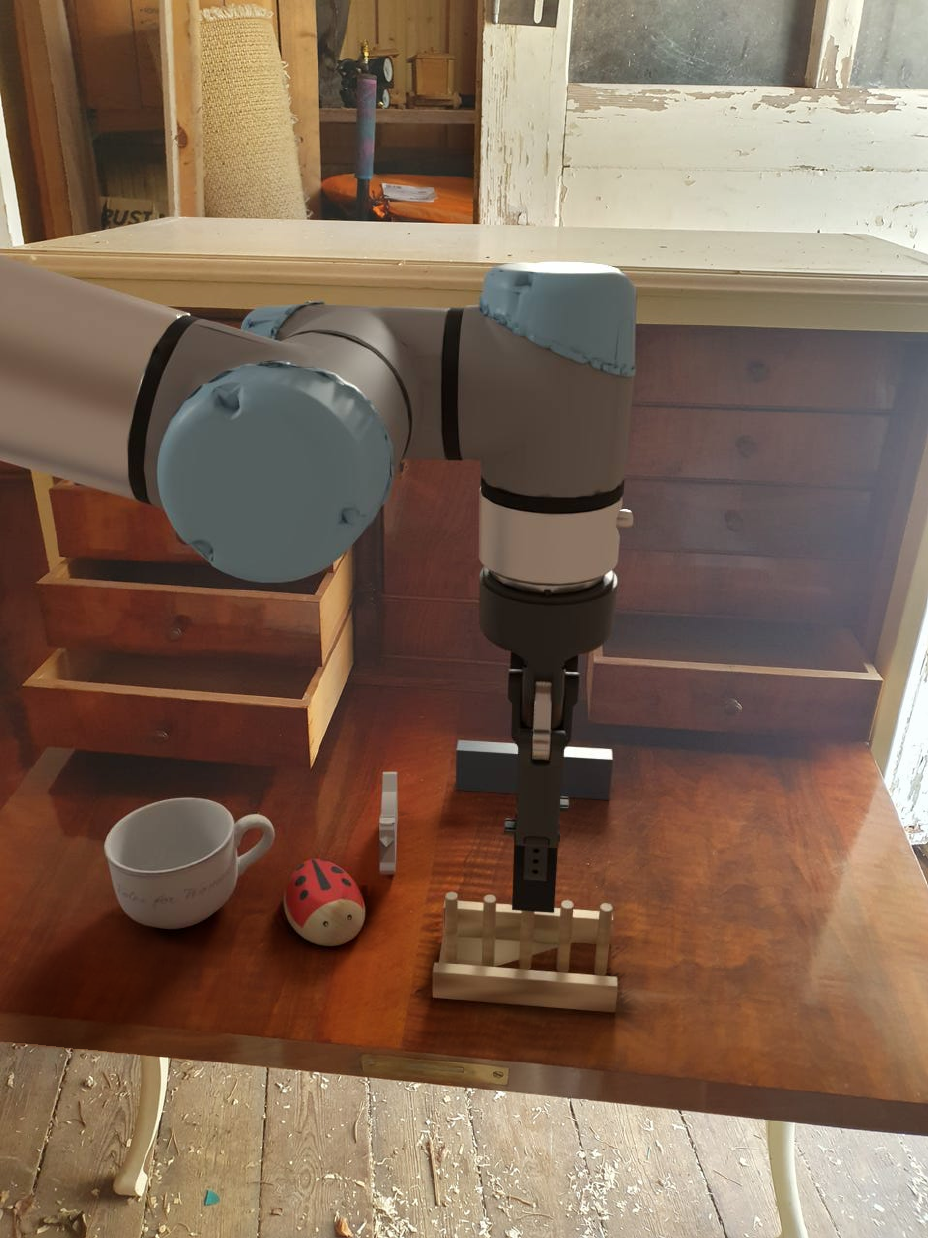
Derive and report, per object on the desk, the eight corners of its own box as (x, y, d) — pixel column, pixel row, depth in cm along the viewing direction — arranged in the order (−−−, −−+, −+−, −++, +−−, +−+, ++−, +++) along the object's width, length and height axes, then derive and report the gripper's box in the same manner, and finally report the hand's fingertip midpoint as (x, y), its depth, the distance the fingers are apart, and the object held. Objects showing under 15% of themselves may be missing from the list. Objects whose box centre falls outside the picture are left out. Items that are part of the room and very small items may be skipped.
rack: (432, 1010, 75) (432, 932, 72) (444, 935, 82) (444, 861, 79) (613, 1025, 74) (622, 946, 70) (609, 948, 81) (616, 873, 78)
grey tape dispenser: (397, 818, 97) (394, 885, 88) (384, 819, 97) (379, 885, 88) (397, 770, 94) (393, 834, 85) (382, 770, 94) (378, 834, 85)
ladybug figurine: (307, 962, 79) (304, 929, 78) (269, 889, 87) (266, 858, 85) (381, 935, 82) (380, 903, 81) (339, 867, 90) (337, 836, 88)
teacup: (107, 954, 80) (92, 878, 76) (127, 868, 89) (115, 797, 86) (277, 936, 82) (271, 862, 78) (279, 854, 91) (273, 784, 88)
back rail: (455, 790, 101) (456, 750, 99) (457, 779, 103) (458, 739, 101) (609, 800, 100) (612, 759, 98) (608, 789, 102) (612, 749, 99)
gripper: (625, 621, 46) (594, 985, 56) (612, 528, 58) (589, 843, 68) (469, 614, 47) (466, 975, 57) (487, 523, 58) (483, 836, 69)
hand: (533, 903), depth 62 cm, fingers closed
